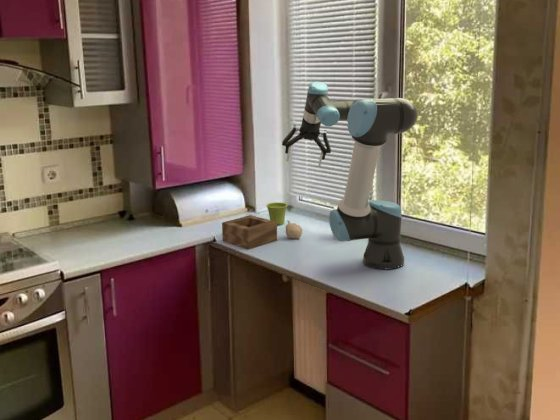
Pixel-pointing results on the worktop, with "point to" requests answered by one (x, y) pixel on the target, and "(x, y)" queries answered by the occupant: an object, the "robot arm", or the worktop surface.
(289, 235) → the garlic bulb
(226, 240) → the walnut well
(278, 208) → the plant pot
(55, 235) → the worktop surface
